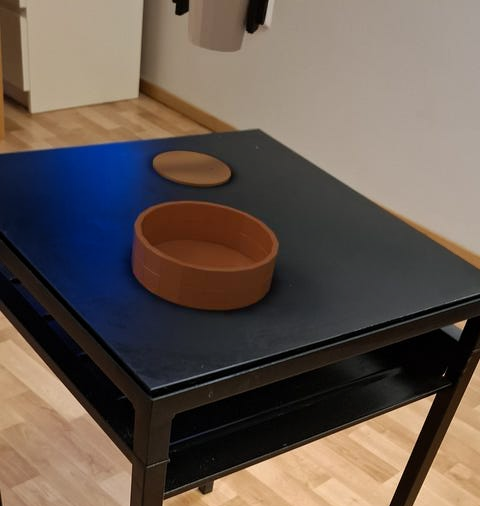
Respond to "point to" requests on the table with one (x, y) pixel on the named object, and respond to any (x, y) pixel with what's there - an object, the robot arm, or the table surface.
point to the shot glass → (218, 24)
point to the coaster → (191, 168)
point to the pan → (203, 255)
